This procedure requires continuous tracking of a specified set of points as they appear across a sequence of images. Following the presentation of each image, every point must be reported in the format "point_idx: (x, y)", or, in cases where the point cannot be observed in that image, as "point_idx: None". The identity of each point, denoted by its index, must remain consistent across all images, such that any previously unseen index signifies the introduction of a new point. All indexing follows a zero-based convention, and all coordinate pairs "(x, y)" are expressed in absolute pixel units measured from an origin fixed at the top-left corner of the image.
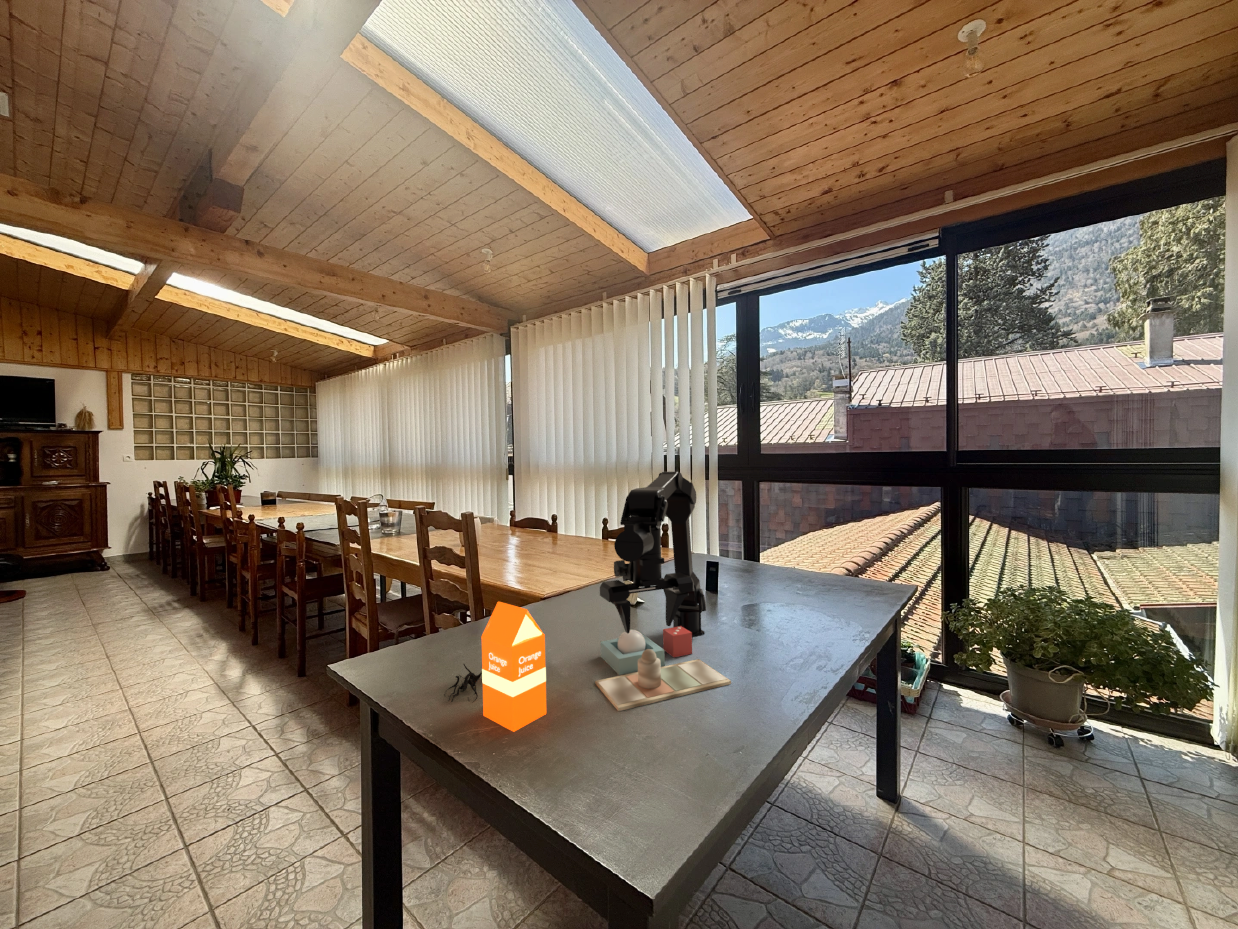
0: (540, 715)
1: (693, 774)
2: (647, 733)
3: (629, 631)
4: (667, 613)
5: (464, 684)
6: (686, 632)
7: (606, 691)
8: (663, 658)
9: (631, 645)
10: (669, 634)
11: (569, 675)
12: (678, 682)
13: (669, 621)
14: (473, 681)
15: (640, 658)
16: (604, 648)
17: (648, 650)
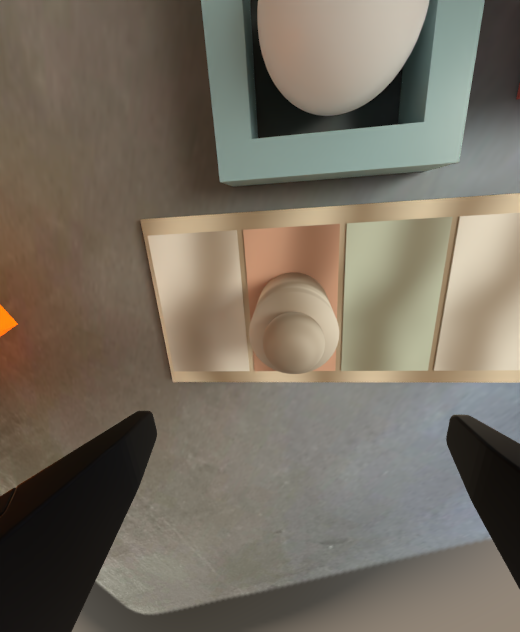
0: (2, 334)
1: (237, 549)
2: (209, 459)
3: (152, 448)
4: (518, 512)
5: None
6: None
7: (160, 302)
8: (433, 168)
9: (307, 97)
10: None
11: (65, 113)
12: (377, 333)
13: (466, 486)
14: None
15: (271, 303)
16: None
17: (288, 362)
